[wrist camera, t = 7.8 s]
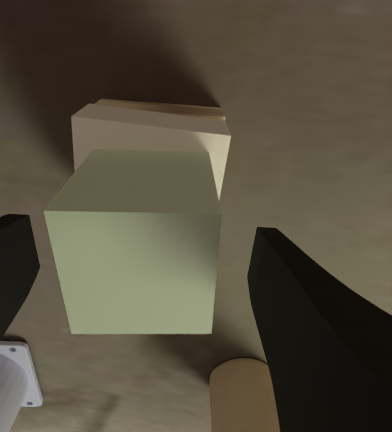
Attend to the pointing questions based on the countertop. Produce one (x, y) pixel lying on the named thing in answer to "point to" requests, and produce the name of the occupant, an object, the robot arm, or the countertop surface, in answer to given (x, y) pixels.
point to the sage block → (138, 242)
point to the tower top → (149, 134)
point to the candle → (242, 397)
